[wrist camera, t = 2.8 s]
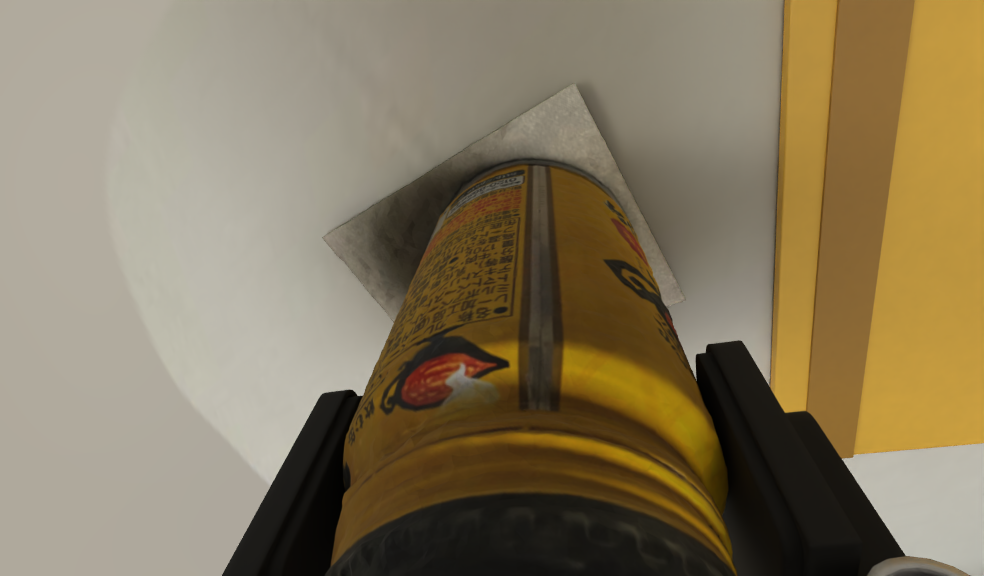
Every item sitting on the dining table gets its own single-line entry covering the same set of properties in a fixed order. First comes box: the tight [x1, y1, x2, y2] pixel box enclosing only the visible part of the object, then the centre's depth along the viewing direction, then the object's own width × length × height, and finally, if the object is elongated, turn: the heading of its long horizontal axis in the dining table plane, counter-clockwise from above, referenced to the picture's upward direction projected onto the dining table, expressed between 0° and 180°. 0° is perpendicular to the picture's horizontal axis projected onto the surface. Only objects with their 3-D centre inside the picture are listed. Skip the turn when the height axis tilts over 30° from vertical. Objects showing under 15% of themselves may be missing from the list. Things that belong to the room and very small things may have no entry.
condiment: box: [322, 83, 737, 576], centre depth 11 cm, size 7×8×12 cm
